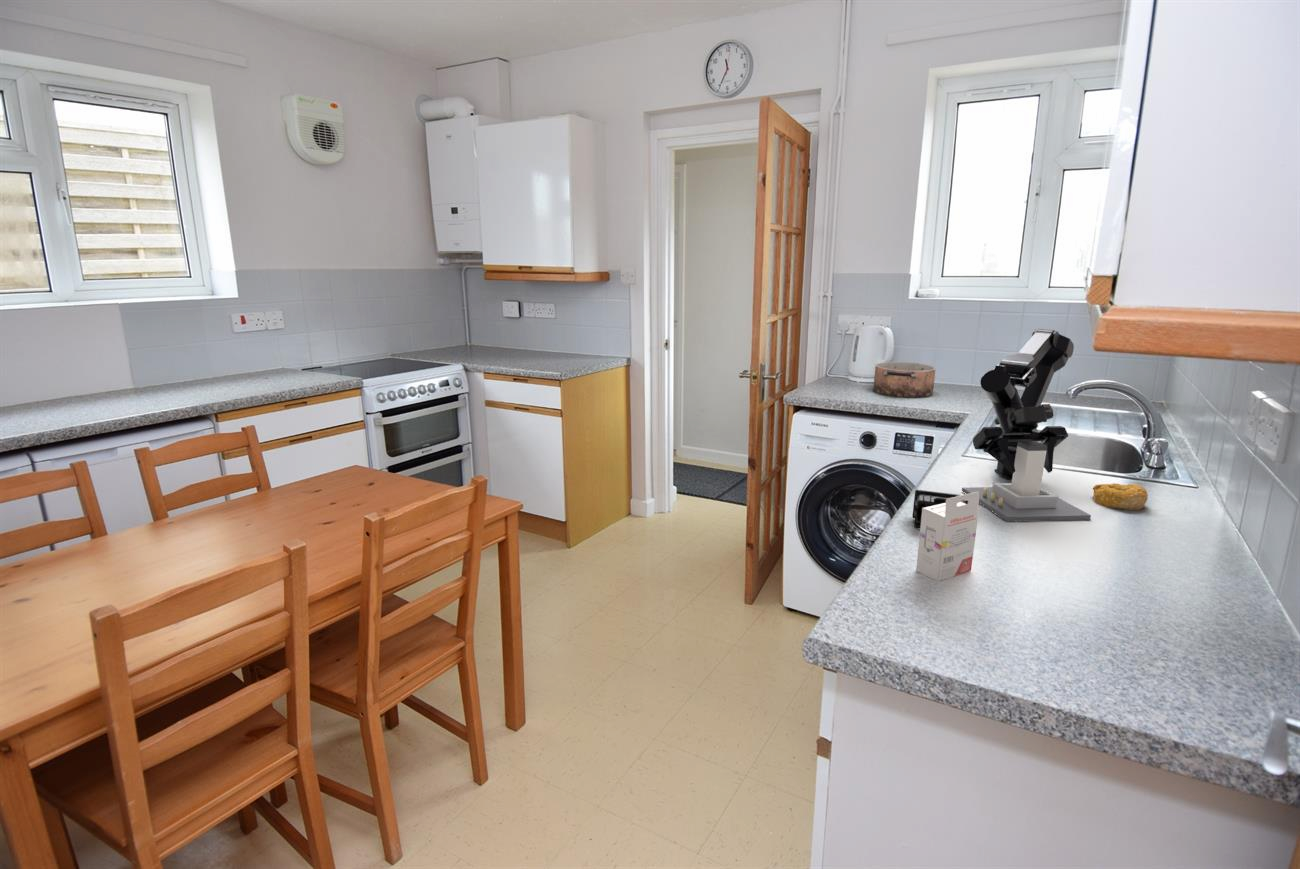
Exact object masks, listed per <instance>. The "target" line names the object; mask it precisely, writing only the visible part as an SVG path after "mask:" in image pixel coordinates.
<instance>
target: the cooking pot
mask: <svg viewBox="0 0 1300 869" xmlns="http://www.w3.org/2000/svg"><path fill="white" fill-rule="evenodd" d="M936 368H937V367H935V366H932V365H929V364H926V363H925V364H924V363H918V362H905V361H888V362H886V361H885V362H884V361H883V362H878V363H876V364H875V368H874V369H875V370H874V378H873V392H874V393H876V394H878V395H881V396H886V397H891V398H892V397H893V398H898V399H899V398H900V399H923V398H929V397H931V396H932V395H933V394H934V387H935V386H934V385H935V377H936V376H935V375H936Z"/></svg>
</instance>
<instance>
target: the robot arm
mask: <svg viewBox="0 0 1300 869" xmlns="http://www.w3.org/2000/svg"><path fill="white" fill-rule="evenodd" d="M1074 348H1075V345H1074V342H1073V341H1072V340H1071V338H1069V337H1066V336H1064V335H1063V334H1060V333H1059V331H1056V330H1055V329H1043V328H1038V329H1034V330H1033V331H1032V334H1031V337H1030V338H1029V339H1028V340H1027V341H1026V343H1025V344H1024V345H1023V346H1021V348H1020V349H1019V351H1018V352H1017V353H1015V354H1012V355H1008V356H1006V357H1004V358H1003V359H1001V361H1000V362H999V363H998V364H996V365H995V367H994V368H992V369H991V370H988V371H987V372H986V373H985V374H984V375H983V376H982V377H981V378H980V386H981V389H982V390H983V392H984V394H986V396H987V398H988V399H989V401H991V404H992V407H993V409H994V412H995V415H996V419H994V424H995V425H997V426H984V427H982V428H981V429H980V430H979V431H978V433H977V434H975V435H974V437H973V439H972V444H973V447H974V449H975V450H982V452H984V453H987V454H989V455H990V456H991V457H993V458H994V459H995V460H996V461H997V465H996V468H994V472H995V473H997V474H998V475H1000V476H1002V477H1004V478H1006V479H1007V480H1012V477H1013V473H1014V472H1015V467H1014V464H1015V457H1016V450H1017V444H1018V441H1037V442H1039V443H1041V444H1044V445H1046V446H1047V451H1046V457H1045V463H1044V469H1045V471H1046V472H1047V473H1048V474H1049V473H1052V471H1053V463H1054V451H1055V448H1056V447H1057V446H1059V445H1060V444H1061V443H1062V442H1063V441H1065V440H1066V438H1068V437H1069V434H1068V432H1067V429H1066V427H1064V426H1061V425H1050V426H1048V425H1046V426H1045V427H1044V428H1043V429H1041V430H1040V431H1038V427H1039V424H1040V423H1047V422H1048V420H1051V419H1053V417H1054V416H1055V415H1054V410H1053V407H1052V405H1051V403H1043V401H1044V399H1045V396H1046V393H1047V392H1048V389H1049V387H1050V384H1051V381H1052V380H1053V376H1054V374H1055V373H1056V372H1058V371H1059V370H1061V369H1063V368H1064V367H1065V366H1066V364H1067V362H1068V360H1069V358H1072V357H1073V353H1074ZM1016 387H1022V388H1024V390H1023V392H1022V395H1021V396H1020V394H1019V391H1018V389H1017V388H1016ZM998 425H999V426H998Z"/></svg>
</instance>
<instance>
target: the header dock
mask: <svg viewBox="0 0 1300 869" xmlns="http://www.w3.org/2000/svg"><path fill="white" fill-rule="evenodd" d="M1011 483H1012V482H1006V483H1005V482H1002V483H999V482H997V483H996V482H995V483H993V484H992V486H986V487H985V486H983V487H982V486H981V487H978V486H977V487H975V486H974V487H962V489H961V492H962V491H963V492H965V493H966V494H970V493H974V492H979V504H980V503H981V504H982V505H981V504H980V505H981V506H983V505H984V506H985V507H984V506H983V507H984V508H986V507H987V508H988V509H987V508H986V509H987V510H988V511H990V510H991V511H990V512H992V511H993V512H994V513H993V512H992V513H993V514H995V513H996V514H997V515H996V514H995V515H996V516H998V517H999V516H1000V517H999V518H1000V519H1002V518H1003V519H1002V520H1004V521H1005V522H1042V521H1043V522H1047V521H1089V520H1091V518H1092V515H1091V514H1089V513H1088V512H1085V511H1084V510H1083V509H1080V508H1079V507H1076V506H1074V505H1073V504H1072V503H1069V502H1067V501H1065V500H1063V499H1062V498H1060V497H1059V496H1057V495H1056V494H1054V493H1052V492H1050V491H1047V490H1046V489H1044V488H1043V487H1041V488H1040V494H1039V495H1034V496H1018V495H1017V494H1015V493H1013V492H1012V491H1010V490H1011ZM963 492H962V493H963ZM965 493H964V494H965Z"/></svg>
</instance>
